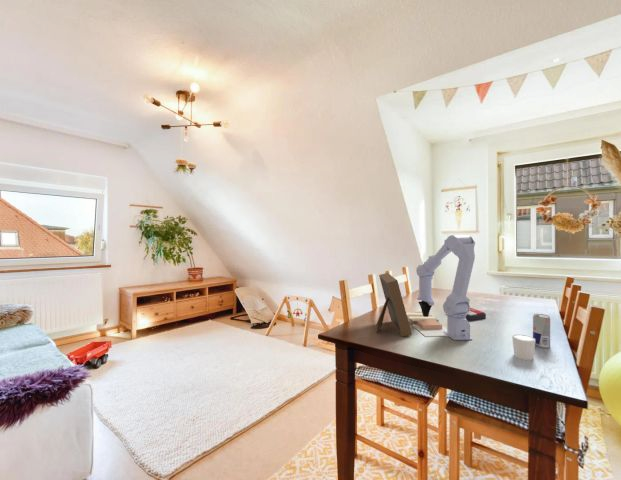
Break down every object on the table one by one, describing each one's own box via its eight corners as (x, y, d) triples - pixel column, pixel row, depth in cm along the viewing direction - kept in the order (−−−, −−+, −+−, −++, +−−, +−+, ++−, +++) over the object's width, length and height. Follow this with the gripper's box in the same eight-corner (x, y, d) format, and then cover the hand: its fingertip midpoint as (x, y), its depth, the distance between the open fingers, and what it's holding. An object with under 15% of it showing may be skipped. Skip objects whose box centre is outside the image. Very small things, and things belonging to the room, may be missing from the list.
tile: (442, 329, 134) (442, 325, 134) (423, 329, 134) (422, 325, 134) (434, 323, 142) (434, 319, 142) (416, 324, 142) (416, 320, 142)
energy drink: (533, 342, 118) (533, 312, 118) (550, 345, 115) (550, 315, 114) (532, 346, 114) (532, 316, 114) (550, 349, 111) (550, 318, 110)
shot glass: (525, 352, 109) (525, 333, 109) (540, 360, 102) (540, 340, 102) (507, 352, 108) (507, 334, 108) (521, 361, 102) (521, 341, 101)
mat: (457, 336, 126) (457, 335, 126) (425, 336, 126) (425, 336, 126) (440, 324, 142) (440, 323, 142) (411, 324, 142) (411, 324, 142)
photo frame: (399, 321, 148) (398, 272, 147) (411, 336, 126) (410, 279, 126) (370, 321, 149) (369, 273, 148) (377, 337, 127) (376, 280, 127)
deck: (438, 323, 143) (438, 319, 143) (412, 324, 143) (412, 320, 143) (425, 315, 158) (425, 311, 158) (402, 315, 158) (402, 312, 158)
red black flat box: (470, 314, 146) (447, 306, 160) (470, 323, 146) (446, 313, 160) (486, 312, 150) (462, 304, 164) (486, 320, 150) (461, 311, 164)
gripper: (411, 286, 151) (412, 312, 151) (423, 292, 136) (423, 321, 137) (425, 286, 151) (425, 312, 151) (438, 292, 137) (438, 320, 137)
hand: (425, 316), depth 144 cm, fingers closed
